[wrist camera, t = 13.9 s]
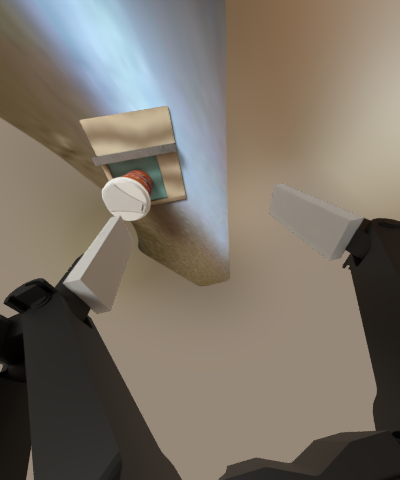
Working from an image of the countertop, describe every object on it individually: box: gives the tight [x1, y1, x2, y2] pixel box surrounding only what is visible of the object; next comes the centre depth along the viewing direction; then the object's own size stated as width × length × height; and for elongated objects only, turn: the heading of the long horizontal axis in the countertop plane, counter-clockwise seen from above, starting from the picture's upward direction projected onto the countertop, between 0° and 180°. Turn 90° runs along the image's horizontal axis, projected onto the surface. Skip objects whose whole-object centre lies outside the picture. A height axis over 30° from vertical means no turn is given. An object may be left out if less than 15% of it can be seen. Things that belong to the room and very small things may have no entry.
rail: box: [92, 142, 177, 166], centre depth 33 cm, size 2×18×3 cm, turn 98°
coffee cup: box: [102, 170, 152, 221], centre depth 32 cm, size 8×8×15 cm
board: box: [80, 106, 186, 205], centre depth 36 cm, size 20×18×1 cm
